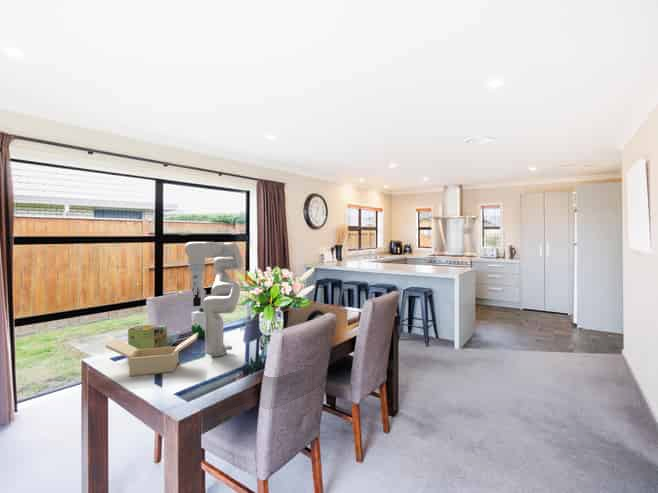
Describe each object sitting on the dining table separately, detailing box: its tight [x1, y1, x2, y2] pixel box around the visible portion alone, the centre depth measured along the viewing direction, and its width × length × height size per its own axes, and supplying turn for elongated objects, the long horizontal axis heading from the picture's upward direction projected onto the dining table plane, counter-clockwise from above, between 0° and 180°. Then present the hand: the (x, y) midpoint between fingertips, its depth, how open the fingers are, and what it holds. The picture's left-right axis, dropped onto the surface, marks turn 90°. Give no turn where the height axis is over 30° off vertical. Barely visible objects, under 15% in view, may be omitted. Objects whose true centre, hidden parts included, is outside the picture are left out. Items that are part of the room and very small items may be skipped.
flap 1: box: [105, 337, 137, 359], centre depth 158 cm, size 1×12×11 cm
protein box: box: [127, 324, 168, 350], centre depth 181 cm, size 10×15×16 cm
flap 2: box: [173, 332, 198, 354], centre depth 165 cm, size 1×12×11 cm
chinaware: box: [167, 329, 180, 347], centre depth 200 cm, size 15×15×8 cm
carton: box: [128, 345, 179, 377], centre depth 162 cm, size 18×14×8 cm
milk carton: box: [190, 307, 205, 338], centre depth 223 cm, size 9×9×20 cm
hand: (197, 305), depth 167 cm, fingers closed
